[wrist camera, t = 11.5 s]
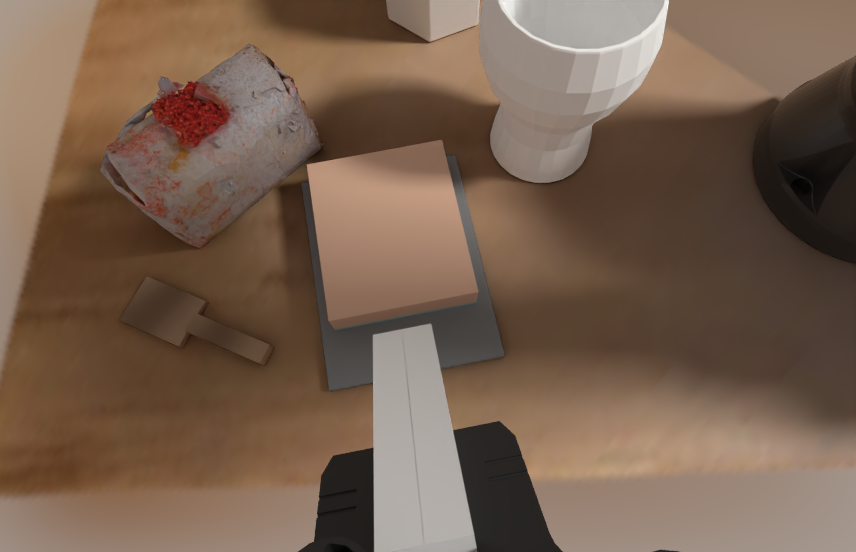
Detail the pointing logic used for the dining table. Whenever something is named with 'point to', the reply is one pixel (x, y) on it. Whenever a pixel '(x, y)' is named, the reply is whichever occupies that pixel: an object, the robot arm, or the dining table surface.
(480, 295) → the mat
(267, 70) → the food item
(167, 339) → the spatula
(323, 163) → the tile
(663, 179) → the dining table surface
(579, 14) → the cup
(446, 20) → the jar
